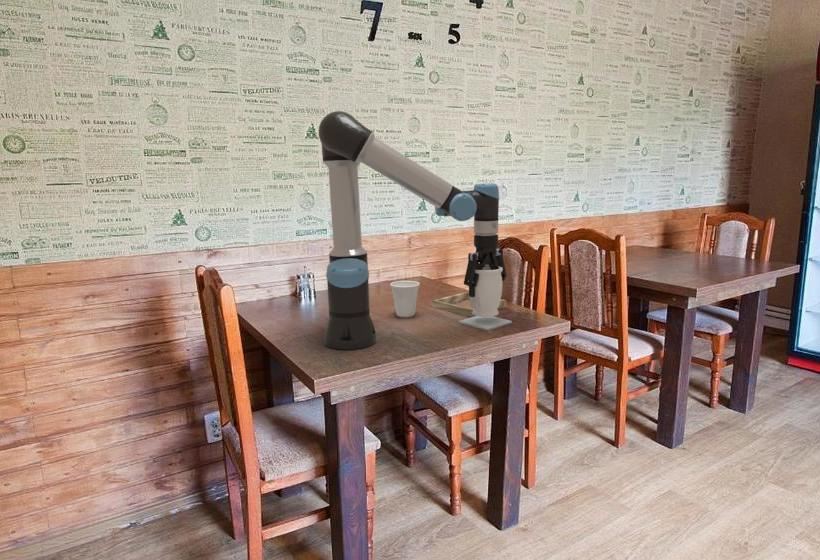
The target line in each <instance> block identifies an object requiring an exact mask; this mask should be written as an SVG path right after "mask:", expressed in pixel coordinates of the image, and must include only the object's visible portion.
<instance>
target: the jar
mask: <svg viewBox="0 0 820 560" xmlns="http://www.w3.org/2000/svg"><path fill="white" fill-rule="evenodd" d="M498 267H499V268H498V269H496V270H491V269H490V266H489V264H486V265H485V267H483V269H482V270H475V273H478V274H479V279H478V282H477V285H476V287H478V307H477V308H475V307H473V308H474V310H473V314H474V315H476V316H481V317H492V316H494V317H497V316H498V315H499V313H500V312H499V309H497V308H498V307H499V304H500V301H501V299H502V294H503V281H502V276H501V272H502V271H503V268H502V267H500V266H498Z"/></svg>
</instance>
